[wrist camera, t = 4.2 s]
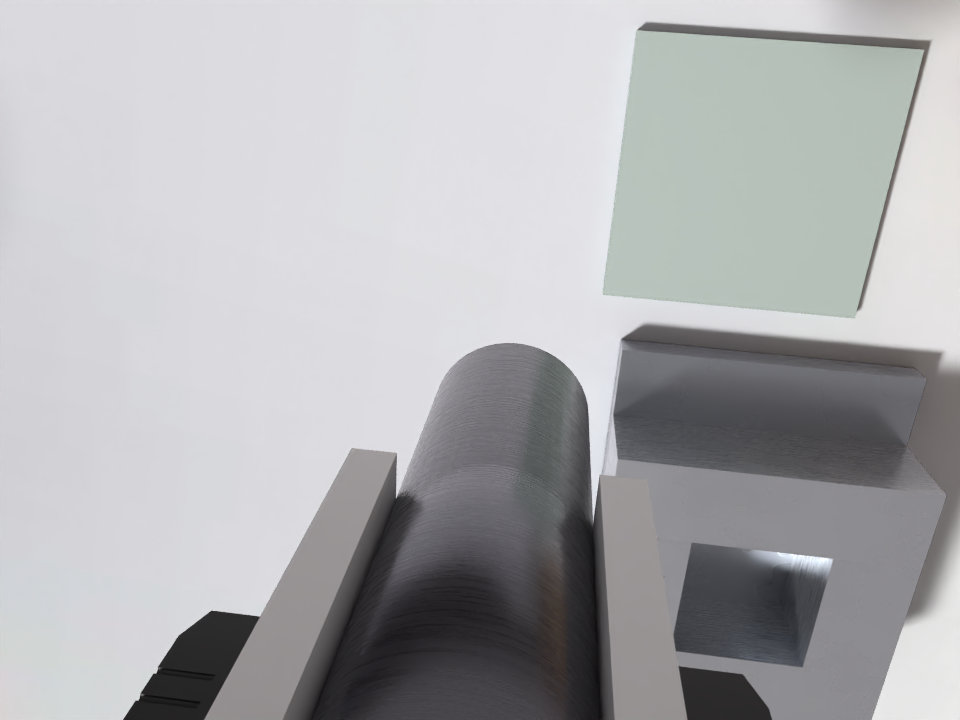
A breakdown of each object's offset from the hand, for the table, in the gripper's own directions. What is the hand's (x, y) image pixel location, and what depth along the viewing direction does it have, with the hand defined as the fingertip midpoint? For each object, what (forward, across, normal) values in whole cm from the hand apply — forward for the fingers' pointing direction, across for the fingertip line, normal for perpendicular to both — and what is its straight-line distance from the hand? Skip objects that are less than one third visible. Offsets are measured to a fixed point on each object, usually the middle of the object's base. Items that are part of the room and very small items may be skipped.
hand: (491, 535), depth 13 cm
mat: (+21, +8, +3) cm, 22 cm away
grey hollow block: (+21, +10, -11) cm, 25 cm away
